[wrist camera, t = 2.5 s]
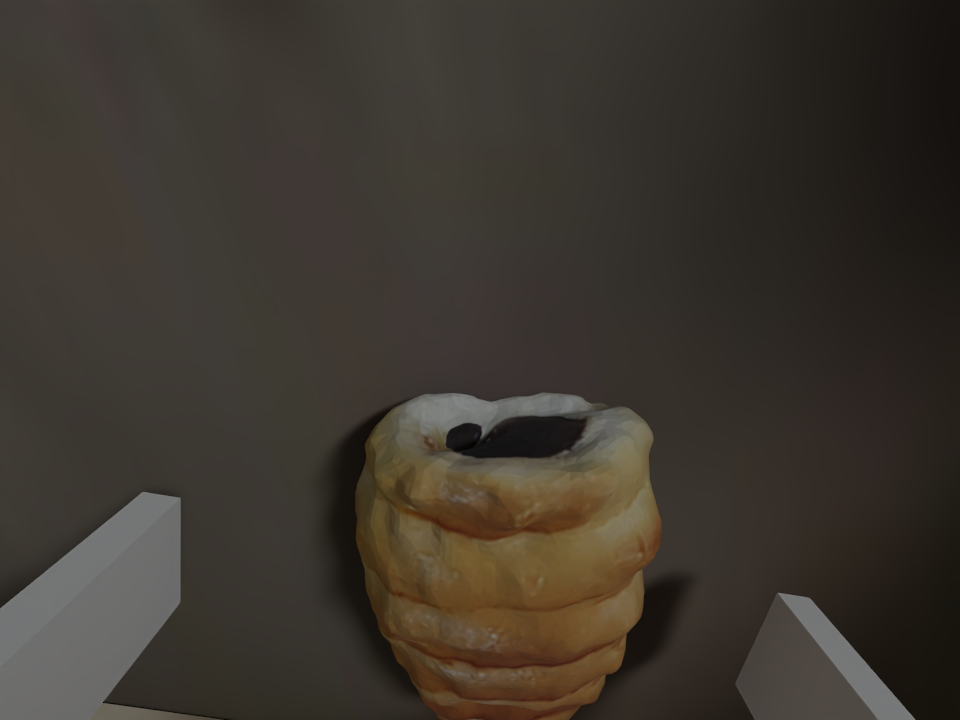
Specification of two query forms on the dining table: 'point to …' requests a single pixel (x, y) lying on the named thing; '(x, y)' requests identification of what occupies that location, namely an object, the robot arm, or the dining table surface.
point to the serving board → (138, 714)
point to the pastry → (507, 548)
